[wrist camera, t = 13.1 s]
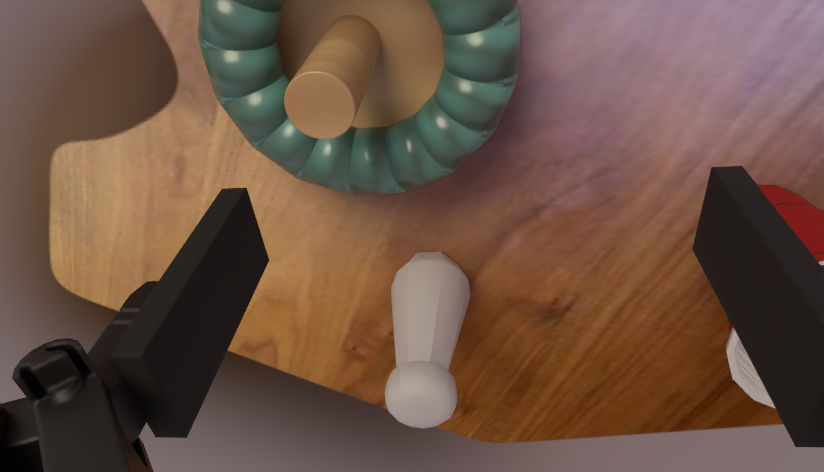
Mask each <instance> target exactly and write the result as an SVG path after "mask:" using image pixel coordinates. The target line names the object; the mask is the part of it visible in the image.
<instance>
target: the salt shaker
mask: <svg viewBox="0 0 824 472" xmlns="http://www.w3.org/2000/svg"><path fill="white" fill-rule="evenodd" d="M391 298H392V312H393V325H394V339H395V352H396V366H397V368H396V369H394V370H393V371H392V373H391V375H390V377H389V379H388V382H387V384H386V389H385V401H386V405H387V408H388V411H389V412H390V413H391V414H392V415H393V416H394V417H395V418H396V419H397V420H398V421H399V422H401V423H403V424H406V425H408V426H411V427H417V428H428V427H434V426H437V425H439V424H441V423H442V422H444V421H446V420H448V419H449V418H450V417H451V416H452V414H453V412H454V410H455V407H456V403H457V390H456V383H455V379H454V377H453V376H452V375H451V374H450V373H449V372H448V371H449V367H450V363H451V360H452V356H453V353H454V350H455V346H456V343H457V340H458V336H459V333H460V330H461V326H462V323H463V320H464V316H465V313H466V310H467V306H468V303H469V300H470V288H469V281H468V278H467V277H466V276H465V274H464V273H463V271H462V270H461V269H460V267H459V266H458V265H457V264H456V263H455V262H454V261H452V260H451V259H450V258H449V257H447V256H446V255H445V254H444V253H443V252H441V251H433V252H420V253H416V254H415V255H414V256H413V258H412V259H411V260H410V261H409V262H408V263H407V264H406V265H404V266H403V267H402V268H401V269H399V270H398V271H397V273H396V276H395V279H394V281H393V284H392V286H391Z"/></svg>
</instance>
